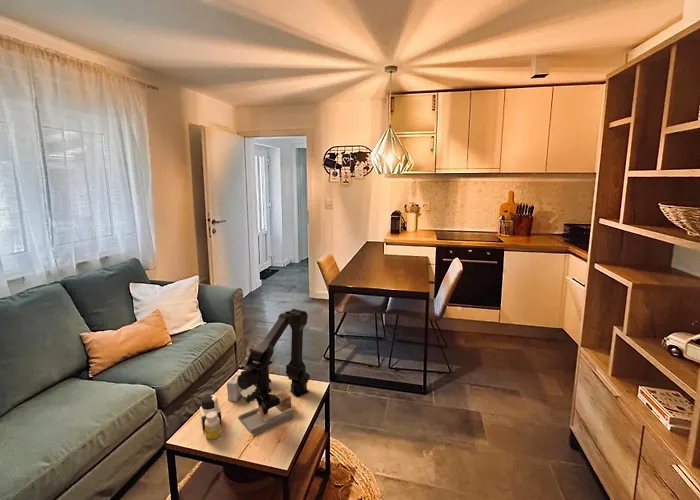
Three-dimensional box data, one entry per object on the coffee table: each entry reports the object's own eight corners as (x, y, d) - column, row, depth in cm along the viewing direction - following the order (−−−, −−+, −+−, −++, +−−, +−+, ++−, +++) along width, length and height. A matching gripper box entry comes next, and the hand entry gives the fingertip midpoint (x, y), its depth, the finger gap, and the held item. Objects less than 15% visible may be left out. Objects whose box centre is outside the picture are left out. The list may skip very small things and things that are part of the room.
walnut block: (285, 401, 163) (284, 391, 162) (291, 407, 159) (290, 396, 158) (274, 406, 160) (274, 395, 159) (280, 411, 156) (280, 400, 155)
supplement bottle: (205, 434, 145) (203, 411, 143) (220, 431, 147) (218, 408, 145) (206, 443, 140) (204, 420, 138) (221, 440, 142) (219, 416, 140)
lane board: (277, 402, 166) (277, 397, 165) (293, 417, 155) (293, 412, 155) (238, 418, 155) (238, 413, 154) (253, 436, 144) (252, 431, 144)
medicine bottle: (203, 432, 146) (200, 404, 144) (200, 422, 152) (198, 395, 150) (222, 427, 149) (220, 399, 147) (219, 417, 156) (217, 391, 153)
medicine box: (236, 401, 166) (235, 384, 165) (227, 400, 167) (226, 382, 166) (245, 392, 174) (244, 375, 172) (236, 391, 175) (235, 374, 173)
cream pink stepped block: (287, 401, 165) (286, 391, 164) (295, 408, 160) (295, 398, 159) (256, 414, 156) (255, 403, 155) (264, 422, 151) (263, 411, 150)
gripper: (233, 374, 153) (235, 409, 156) (253, 394, 139) (255, 432, 142) (258, 366, 160) (260, 399, 163) (280, 384, 146) (281, 420, 149)
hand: (263, 412), depth 154 cm, fingers closed on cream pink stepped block, 2 cm apart
